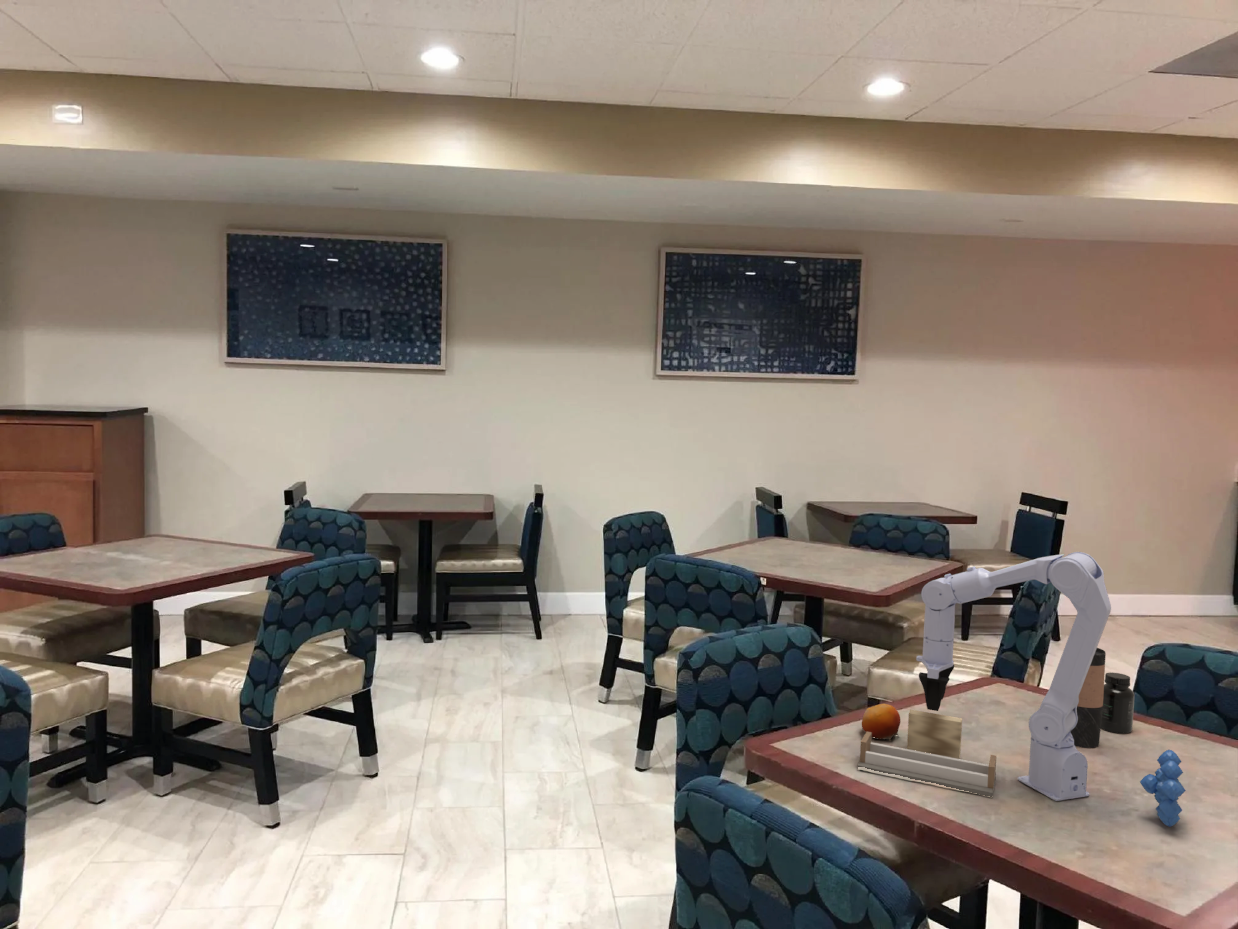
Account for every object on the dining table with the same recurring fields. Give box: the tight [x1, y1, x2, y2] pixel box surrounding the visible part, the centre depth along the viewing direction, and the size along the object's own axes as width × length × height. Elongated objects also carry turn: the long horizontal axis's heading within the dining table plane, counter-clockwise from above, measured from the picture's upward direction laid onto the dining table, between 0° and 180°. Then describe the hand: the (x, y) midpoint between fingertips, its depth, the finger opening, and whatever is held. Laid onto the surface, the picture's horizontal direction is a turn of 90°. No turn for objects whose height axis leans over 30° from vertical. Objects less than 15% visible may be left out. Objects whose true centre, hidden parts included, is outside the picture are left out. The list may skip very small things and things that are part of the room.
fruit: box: [861, 703, 901, 741], centre depth 186 cm, size 8×8×8 cm
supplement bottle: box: [1100, 671, 1135, 735], centre depth 193 cm, size 7×7×12 cm
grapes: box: [1139, 749, 1186, 828], centre depth 150 cm, size 12×7×12 cm, turn 152°
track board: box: [857, 732, 997, 798], centre depth 167 cm, size 24×10×5 cm, turn 63°
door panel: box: [906, 709, 963, 759], centre depth 177 cm, size 10×2×8 cm, turn 63°
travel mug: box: [1071, 647, 1107, 749], centre depth 185 cm, size 8×8×20 cm
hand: (935, 704), depth 176 cm, fingers open, 7 cm apart
